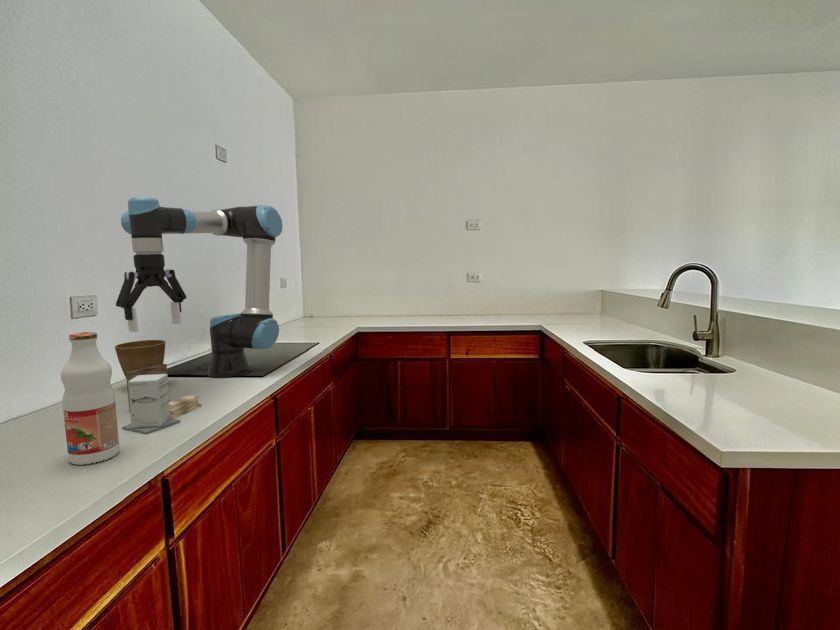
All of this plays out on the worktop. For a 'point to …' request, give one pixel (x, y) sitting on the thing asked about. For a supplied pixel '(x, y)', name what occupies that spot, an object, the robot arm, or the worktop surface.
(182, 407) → the pine offcuts
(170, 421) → the slate mat
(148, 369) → the walnut rack
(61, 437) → the worktop surface
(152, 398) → the supplement box
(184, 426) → the worktop surface
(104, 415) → the fruit juice
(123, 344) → the plant pot
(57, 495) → the worktop surface
